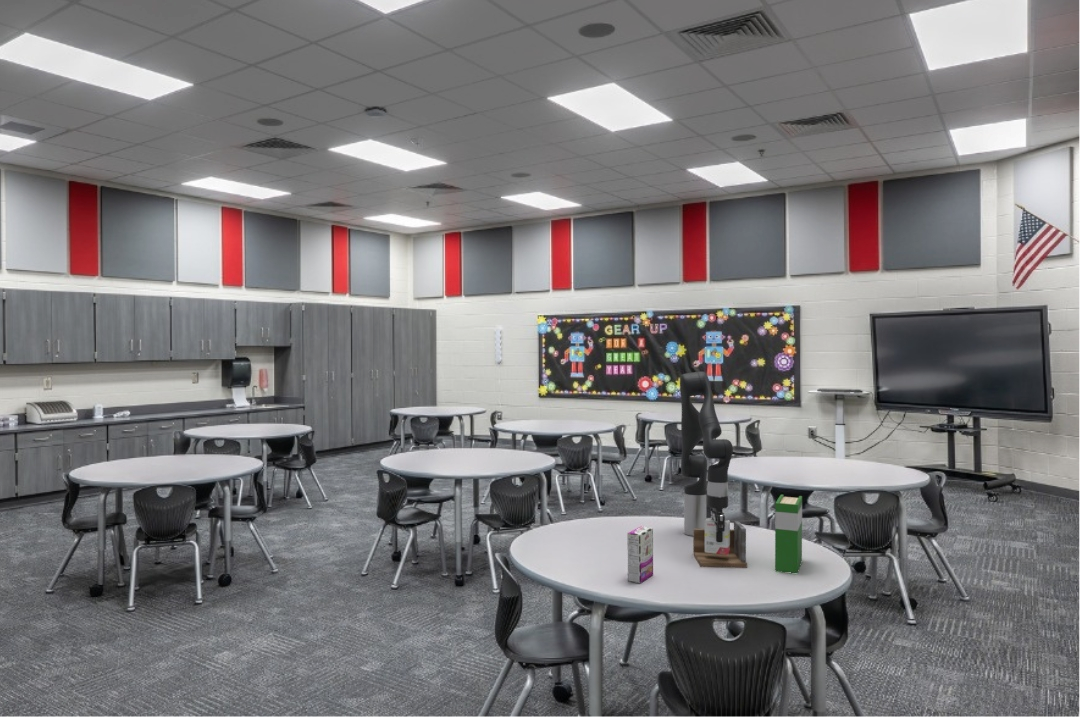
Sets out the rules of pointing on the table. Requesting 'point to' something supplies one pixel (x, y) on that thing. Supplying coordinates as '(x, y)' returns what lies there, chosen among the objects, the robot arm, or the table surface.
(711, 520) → the ink box
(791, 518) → the hardback book
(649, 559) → the candy bar box
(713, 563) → the wooden book holder
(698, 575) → the table surface
